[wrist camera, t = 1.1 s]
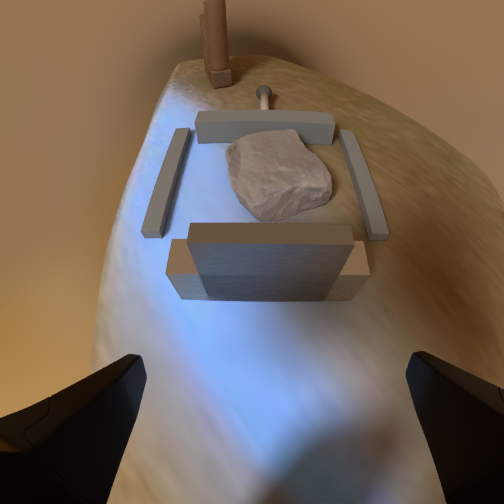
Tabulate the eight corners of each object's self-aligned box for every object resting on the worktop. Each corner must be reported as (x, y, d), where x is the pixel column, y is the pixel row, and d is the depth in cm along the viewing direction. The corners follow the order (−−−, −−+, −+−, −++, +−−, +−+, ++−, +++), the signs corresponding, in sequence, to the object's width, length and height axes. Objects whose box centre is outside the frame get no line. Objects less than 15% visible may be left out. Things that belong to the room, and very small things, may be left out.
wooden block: (221, 69, 51) (216, -4, 35) (233, 86, 45) (228, -1, 30) (205, 71, 50) (197, -2, 35) (213, 89, 45) (205, 1, 30)
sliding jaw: (350, 300, 24) (390, 245, 16) (181, 299, 24) (148, 243, 16) (346, 270, 25) (379, 208, 18) (185, 269, 26) (157, 205, 18)
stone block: (255, 240, 30) (338, 203, 30) (244, 213, 25) (339, 173, 25) (223, 172, 36) (292, 144, 36) (211, 145, 32) (287, 115, 32)
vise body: (385, 240, 27) (398, 220, 24) (144, 238, 28) (133, 217, 25) (335, 102, 42) (338, 86, 39) (191, 101, 43) (188, 84, 40)
